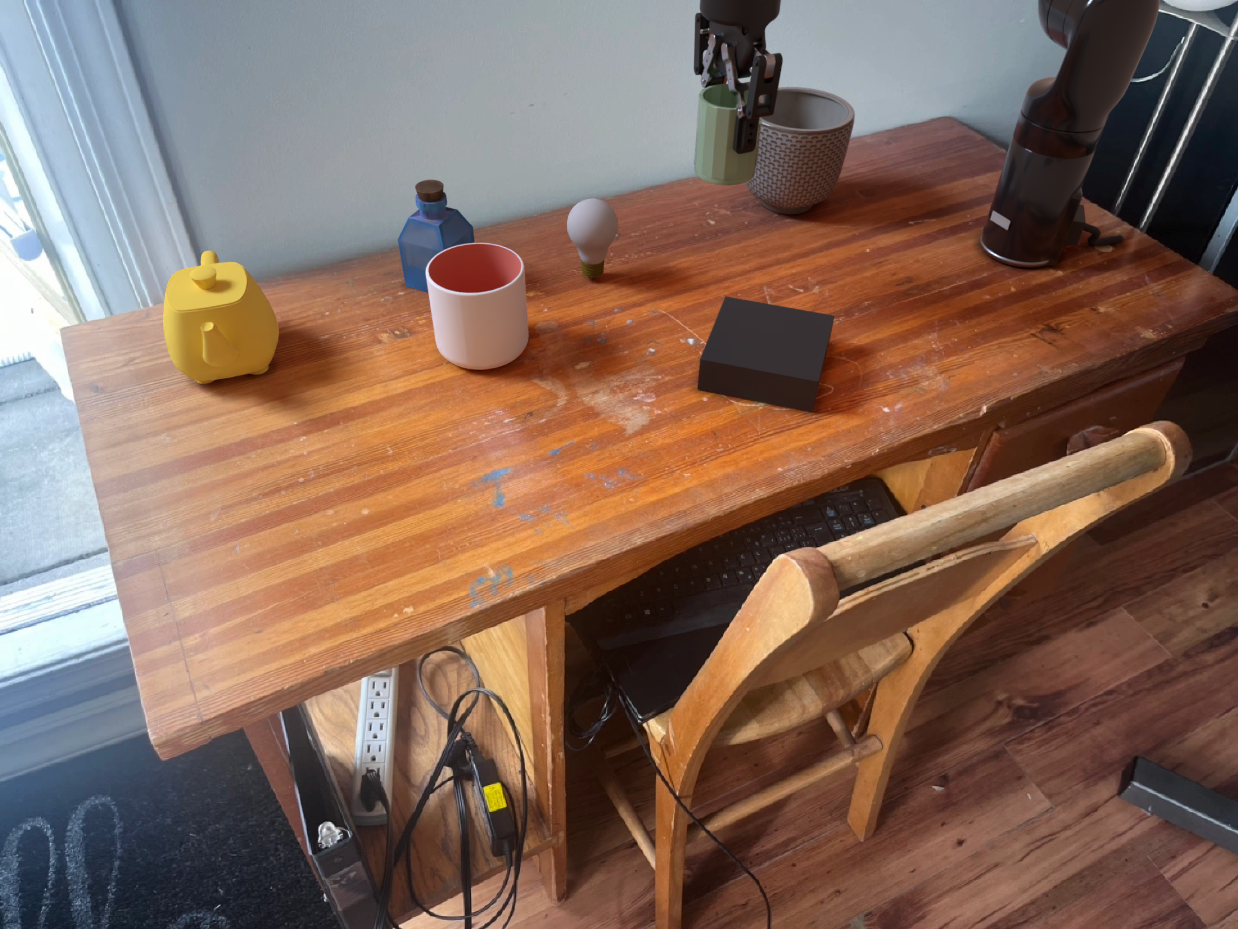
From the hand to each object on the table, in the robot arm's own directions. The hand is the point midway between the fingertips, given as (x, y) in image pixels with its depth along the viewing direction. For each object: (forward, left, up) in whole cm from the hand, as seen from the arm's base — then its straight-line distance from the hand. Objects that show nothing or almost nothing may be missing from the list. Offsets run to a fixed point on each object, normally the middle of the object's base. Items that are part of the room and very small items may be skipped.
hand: (727, 136), depth 97 cm
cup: (+22, +17, -20) cm, 34 cm away
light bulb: (+15, 0, -20) cm, 25 cm away
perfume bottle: (+32, +6, -20) cm, 38 cm away
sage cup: (0, 0, -4) cm, 4 cm away
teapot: (+46, +28, -20) cm, 57 cm away
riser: (-8, +11, -20) cm, 24 cm away
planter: (-4, -26, -20) cm, 33 cm away
